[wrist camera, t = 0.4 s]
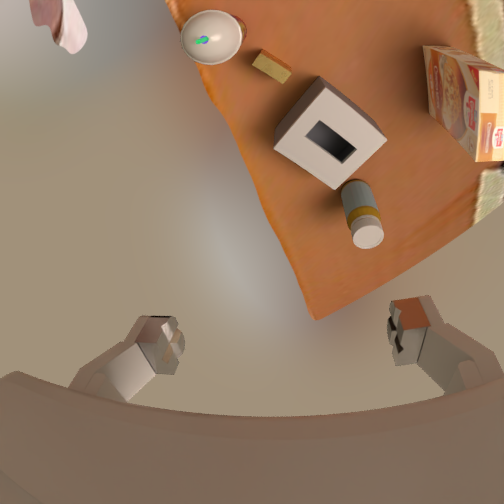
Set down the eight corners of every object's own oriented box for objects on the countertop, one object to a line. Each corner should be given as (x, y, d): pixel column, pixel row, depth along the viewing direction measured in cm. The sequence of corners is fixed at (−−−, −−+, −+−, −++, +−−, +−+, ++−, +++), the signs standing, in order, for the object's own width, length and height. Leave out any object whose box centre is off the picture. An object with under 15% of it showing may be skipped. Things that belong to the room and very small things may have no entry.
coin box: (319, 75, 45) (325, 87, 38) (374, 120, 49) (387, 140, 43) (274, 128, 54) (273, 148, 48) (329, 166, 58) (334, 190, 52)
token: (262, 49, 42) (260, 53, 38) (290, 66, 44) (291, 73, 40) (254, 59, 44) (251, 64, 39) (282, 76, 46) (282, 84, 42)
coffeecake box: (421, 44, 36) (478, 69, 22) (452, 46, 34) (514, 73, 20) (427, 114, 46) (474, 163, 33) (456, 113, 44) (506, 161, 31)
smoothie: (210, 56, 43) (174, 81, 30) (199, 17, 38) (155, 22, 24) (256, 47, 42) (242, 65, 28) (246, 6, 36) (225, 1, 22)
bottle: (359, 172, 59) (374, 217, 48) (375, 192, 62) (392, 239, 52) (334, 189, 63) (343, 236, 52) (351, 208, 66) (362, 255, 56)
